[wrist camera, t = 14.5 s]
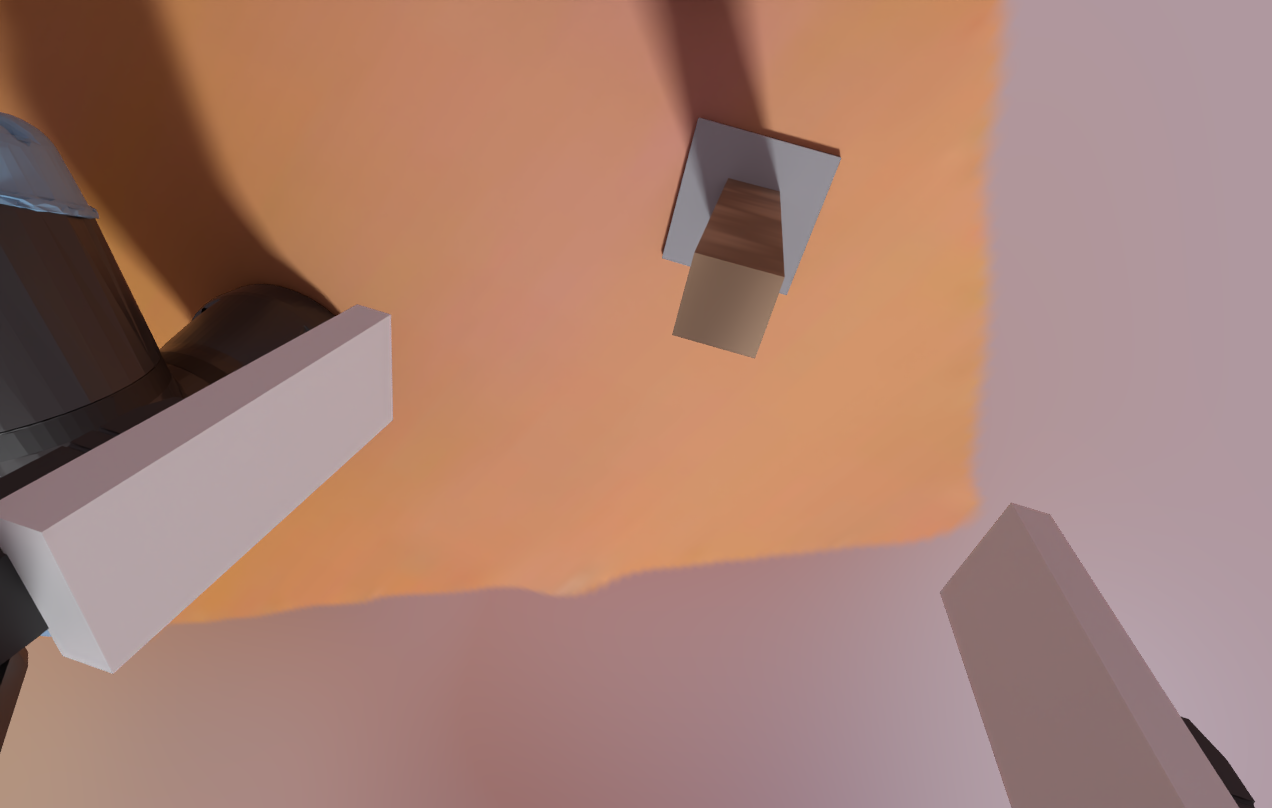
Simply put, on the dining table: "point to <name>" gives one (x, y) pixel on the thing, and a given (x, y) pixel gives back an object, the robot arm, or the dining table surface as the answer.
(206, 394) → the robot arm
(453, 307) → the dining table surface
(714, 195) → the mat
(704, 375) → the dining table surface
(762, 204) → the walnut rod
